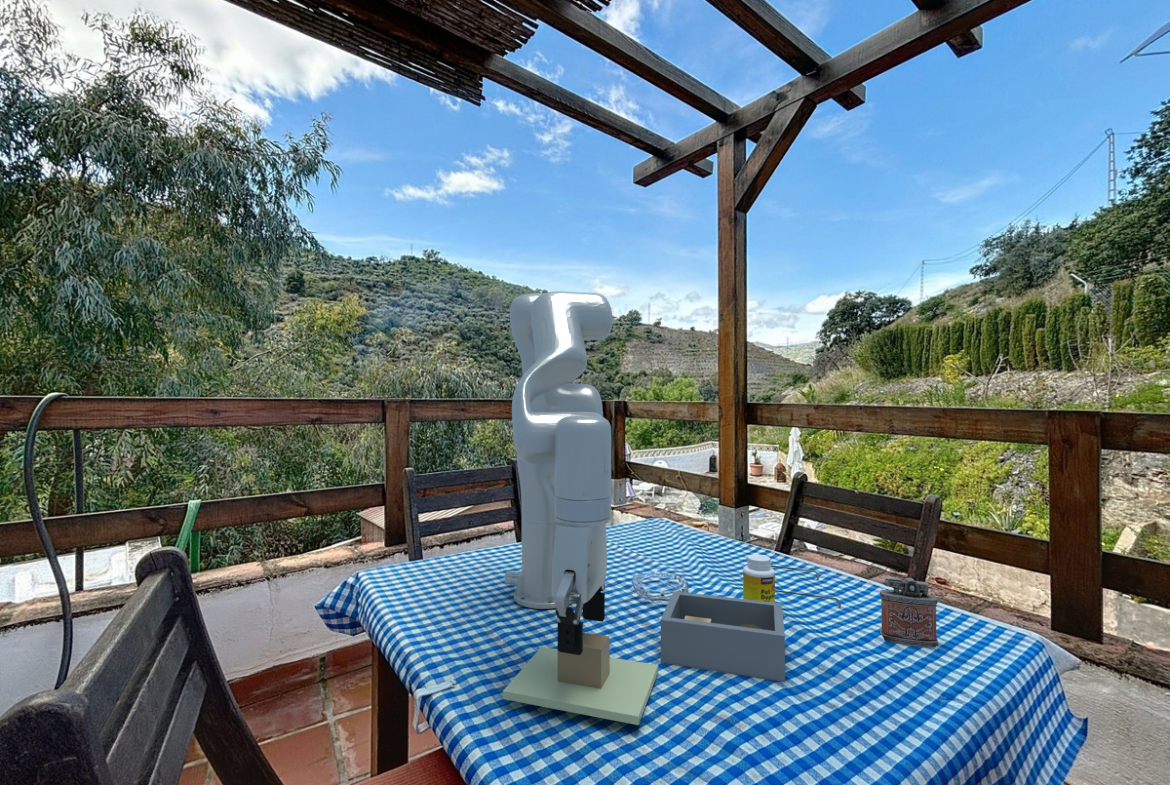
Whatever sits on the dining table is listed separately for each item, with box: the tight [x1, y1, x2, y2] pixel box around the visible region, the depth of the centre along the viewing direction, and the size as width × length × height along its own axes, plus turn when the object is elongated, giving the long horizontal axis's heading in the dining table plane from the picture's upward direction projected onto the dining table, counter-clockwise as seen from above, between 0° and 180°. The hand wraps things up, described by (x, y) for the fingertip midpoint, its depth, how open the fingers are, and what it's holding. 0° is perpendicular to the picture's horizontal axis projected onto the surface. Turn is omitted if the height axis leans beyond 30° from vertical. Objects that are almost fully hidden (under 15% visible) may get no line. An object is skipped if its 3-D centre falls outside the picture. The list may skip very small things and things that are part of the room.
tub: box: [660, 591, 786, 683], centre depth 80 cm, size 17×12×7 cm
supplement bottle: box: [742, 554, 776, 603], centre depth 97 cm, size 6×6×10 cm
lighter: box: [879, 576, 939, 648], centre depth 86 cm, size 8×3×10 cm, turn 71°
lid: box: [502, 632, 659, 726], centre depth 71 cm, size 18×13×8 cm
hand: (582, 635), depth 71 cm, fingers open, 9 cm apart
